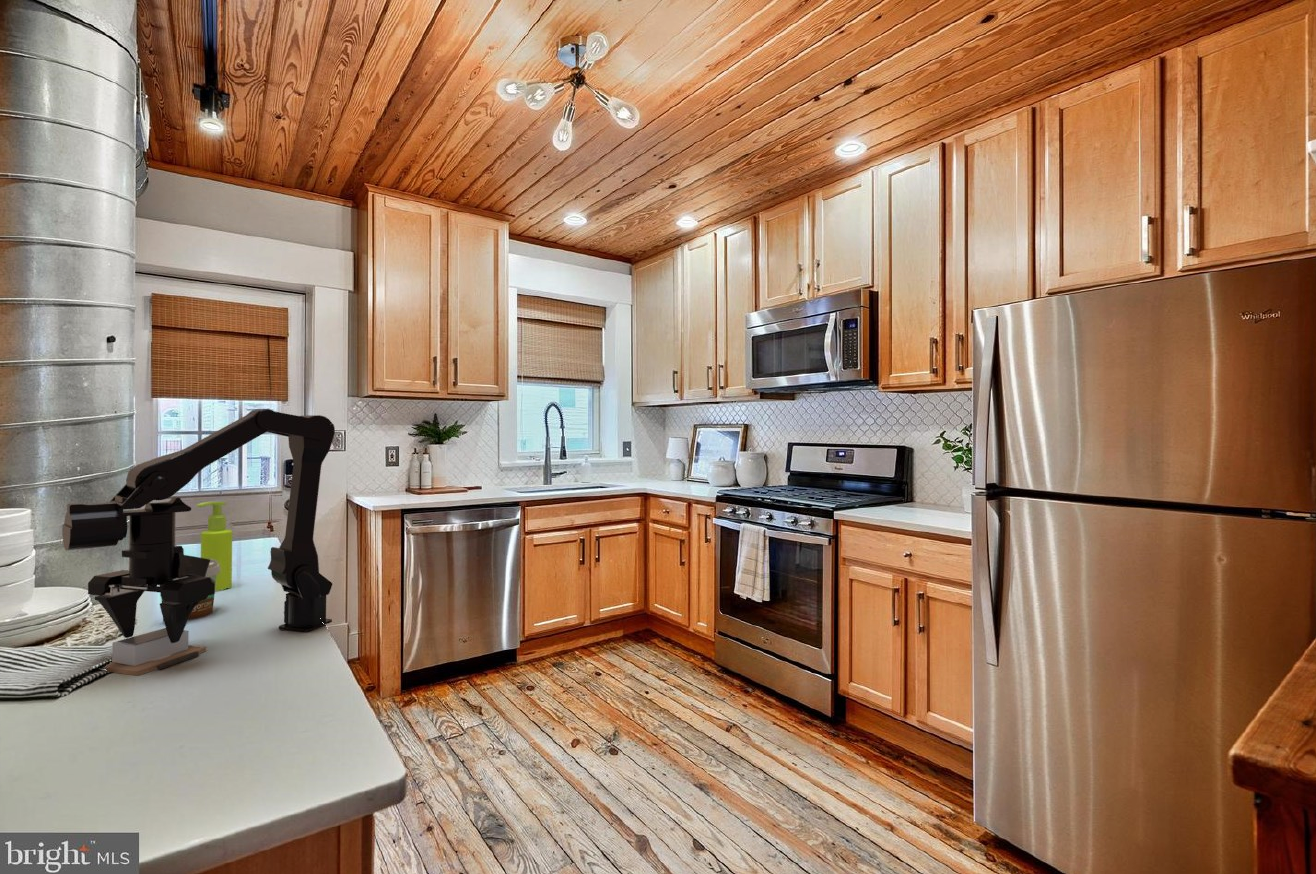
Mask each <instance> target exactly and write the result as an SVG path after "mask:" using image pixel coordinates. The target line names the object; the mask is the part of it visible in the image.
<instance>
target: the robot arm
mask: <svg viewBox="0 0 1316 874" xmlns="http://www.w3.org/2000/svg"><path fill="white" fill-rule="evenodd" d="M335 429H336V428H335V425H334V423H333V422H332V421H331V420H330V418H328V417H326V416H324V415H320V414H319V415H318V414H317V415H315V414H314V415H312V414H311V415H310V414H309V415H308V414H307V415H296V414H290V413H285V412H279V411H274V410H273V409H270V408H255V409H253V410H250V411H249V412H248V413H247V414H246V415H244V416H241V418H238V419H237V420H235V421H233V422H231V423H229V424H228V425H225V426H224V427H222V428H220V429H218V430H216V431H215V432H213V433H211V434H209V435H208V436H206V437H204V438H202V439H200V440H198V441H196V442H193V444H190V445H189V446H187V447H185V448H183V449H181V450H178V451H174V452H172V453H168V454H164V455H161V456H158V457H156V458H152V459H150V460H147V461H144V462H141V463H139V464H137V465H135V466H133V467H132V468H131V469H129V471H128V472H127V475H126V479H125V482H126V483H125V485H124V486H123V487H122V488H120V490H119V491H118V492H117V493H116V494H115V495H114V496H113V497H112V498H111V499H110V500H109V502H99V503H98V502H97V503H83V502H78V503H77V502H75V503H73V502H72V503H68V504H67V505H66V513H65V516H64V524H62V527H61V528H62V529H61V530H62V532H61V533H62V534H61V536H62V544H63V547H64V550H65V551H74V550H75V551H76V550H77V551H78V550H83V549H94V548H105V547H115V546H117V545H118V543H119V541H123V540H124V539H126V537H127V534H129V536H128V537H129V540H128V543H129V545H128V546H129V548H128V549H123V550H121V558H128V570H126V569H122V570H117V571H111V572H107V573H103V574H98V575H94V576H92V578H91V579H90V580H89V581H88V582H87V594H88V595H89V596H94V597H93V598H94V600H95V601H96V602H98V603H99V604H100V605H101V606H102V607H103V609H104V610H105V612H106V613H107V614H108V615H109V617H110V618H111V620H112V621H113V623H114V624H115V626H116V627H117V629H118V630H119V632H120V633H121V634H122V636H123V638H124V639H127V638H131V637H134V633H135V627H136V617H137V608H138V607H137V606H138V601H139V600H140V598H141V597H142V595H143V594H145V592H150V593H151V592H153V593H160V597H161V598H162V599H163V600H164V603H162V602H160V603H159V608H160V612H161V615H162V620H163V619H164V622H163V623H164V626H165V628H166V630H167V634H168V637H169V639H170V642H171V643H176V642H178V641H179V640H180V638H181V635H182V633H183V631H184V630H185V628H186V625H187V623H188V621H189V620H188V619H189V616H190V614H191V612H192V610H193V609H194V607H195V606H196V605H197V604H198V603H199V602H200V601H202V600H206V599H207V598H208V596H209V595H213V594H214V595H215V594H216V591H215V581H214V580H213V579H212V578H210V577H205V576H206V573H207V570H208V567H209V563H210V559H205V558H201V556H200V557H199V556H194V555H193V556H192V555H187V554H185V553H184V552H185V549H184V548H183V546H182V545H176V515H177V514H176V513H186V512H187V513H189V512H191V511H192V507H191V506H190V505H188V504H187V503H185V502H184V501H183V500H182V499H181V497H179V496H174V495H176V493H178V492H179V491H180V490H181V489H183V488H184V487H185V486H186V485H188V484H189V483H190V482H191V481H193V478H195V477H196V476H197V474H198V473H200V472H201V471H202V470H204V468H206V467H208V466H209V465H211V464H213V463H215V462H217V461H218V460H220V459H222V458H223V457H225V456H227V455H229V454H230V453H232V452H234V451H236V450H237V449H239V448H241V447H243V446H245V445H246V444H248V443H250V442H251V441H254V440H255V439H256V438H258V437H260V436H261V435H263V434H265V433H269V434H273V435H278V436H283V437H286V438H287V437H288V448H289V450H290V454H291V457H292V460H293V467H292V476H291V482H290V483H291V484H290V492H289V501H288V509H287V517H286V518H287V519H286V525H285V534H284V539H283V541H282V542H281V544H280V546H279V547H276V546H272V547H270V562H269V565H268V566H267V570H270V572H271V577H272V579H273V580H274V581H275V583H278V584H280V585H281V589H283V592H286V593H285V600H284V603H283V604H284V605H283V606H284V607H283V610H284V611H283V615H284V616H283V622H284V623H283V624H280V625H279V626H278V629H279V630H286V631H296V632H310V631H313V630H316V629H318V628H320V627H323V626H325V625H328V624H330V623H333V619H332V618H327V596H328V595H329V594H330V592H331V590H332V587H333V582H331V581H330V580H329V579H328V578H327V577H325V576H324V575H323V574H321V573H320V567H319V566H320V565H319V555H318V551H317V547H316V545H315V541H314V534H315V532H314V531H315V525H316V516H317V506H318V500H319V499H318V497H319V489H320V481H321V473H322V465H323V462H324V461H325V459H326V457H327V455H328V453H329V452H330V450H331V448H332V444H333V441H334V438H335V433H336V432H335ZM169 498H171V499H170V500H169V501H164V500H166V499H169ZM153 501H160V502H153ZM161 501H164V502H161ZM144 506H145V507H144ZM143 507H144V508H143ZM128 517H129V526H128V520H127V519H128ZM128 527H129V529H128ZM128 530H129V531H128ZM128 532H129V533H128ZM184 577H186V578H184ZM176 578H182V579H177V580H174V579H176ZM161 598H160V599H161ZM162 599H161V600H162ZM320 618H321V619H320ZM322 622H323V623H324V624H325V625H324V624H323V623H322Z"/></svg>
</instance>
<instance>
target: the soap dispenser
mask: <svg viewBox="0 0 1316 874" xmlns="http://www.w3.org/2000/svg"><path fill="white" fill-rule="evenodd" d="M222 505H227V502H226V501H205V502H201V503H197V504H195V506H196V507H198V508H203V507H207V506H208V507H209V506H212V514H211V515H210V516H208V517H207V530H205V531H201V532H200V558H205V559H214V560H217V562H218V564H219V566H220V570H221V572H220V573H218V574H217V576H216V585H215V592H217V591H216V590H222V589H226V588H230V587H231V588H232V581H233V579H232V578H233V577H232V576H233V575H232V574H233V573H232V571H233V530H231V529H227V517H226V515H224V514H222V511H223V509H222V508H223V507H222ZM231 588H230V589H231ZM222 591H223V590H222Z"/></svg>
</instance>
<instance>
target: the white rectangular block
mask: <svg viewBox="0 0 1316 874" xmlns="http://www.w3.org/2000/svg"><path fill="white" fill-rule="evenodd" d="M189 635H190V633H189V630H186V629H184V631H183V633H182V635H181V638H180V640H179V641H178V642H176V643H171V642H170V639H169V637H168V634H167V630H166V627H164V628H161V629H157V630H153V631H150V632H146V633H142V634H139V635H136V636H135V635H133V636H132V637H129V638H124V639H120V640H117V641H113V642H112V645H111V646H112V647H111V648H112V651H111V652H112V654H111V657H112V658H111V659H112V662H115V663H121V664H126V665H132V666H137V665H140V664H143V663H146V662H149V661H153V660H156V659H159V658H162V657H165V656H168V655H171V654H175V653H178V652H181V651H184V650H187V649H188V645H189Z"/></svg>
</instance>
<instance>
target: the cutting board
mask: <svg viewBox="0 0 1316 874" xmlns="http://www.w3.org/2000/svg"><path fill="white" fill-rule="evenodd" d="M204 652H207V647H205V646H198V645H189V644H188V649H187V650H184V651H181V652H178V653H175V654H171V655H168V656H165V657H162V658H159V659H156V660H153V661H149V662H146V663H143V664H140V665H137V666H132V665H126V664H121V663H115V662H113V663H111V664H109V665H106V666H105V667H104V668H105V669H106V670H107V671H108V673H116V674H124V675H129V676H131V675H132V676H141V675H143V674H146V673H149V672H152V671H155V670H158V671H161V670H164V669H166V668H168V667H172V666H174V665H177V664H179V663H180V664H181V663H183V662H185V661H188V660H191V659H193V658H196V657H198V656H199V655H200V654H201V653H204ZM107 671H106V672H107Z"/></svg>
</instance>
